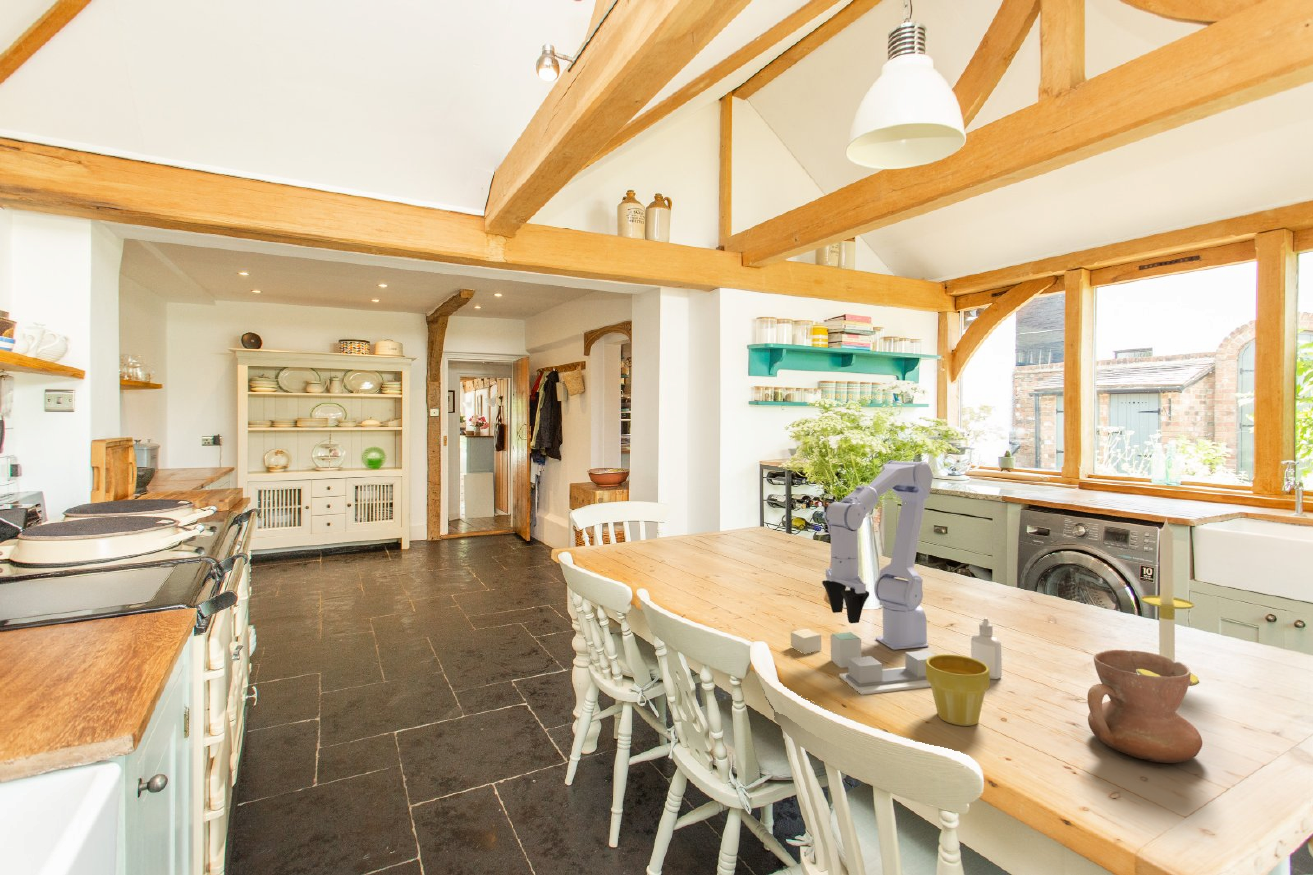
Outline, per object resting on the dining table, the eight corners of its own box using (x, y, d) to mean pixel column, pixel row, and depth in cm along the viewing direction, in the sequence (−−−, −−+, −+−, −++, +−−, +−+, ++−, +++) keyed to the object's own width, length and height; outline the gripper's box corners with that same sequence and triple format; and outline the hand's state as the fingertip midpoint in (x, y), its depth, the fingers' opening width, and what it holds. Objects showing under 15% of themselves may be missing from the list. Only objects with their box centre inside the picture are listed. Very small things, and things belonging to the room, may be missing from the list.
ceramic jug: (1149, 722, 109) (1146, 642, 108) (1236, 767, 94) (1233, 673, 94) (1055, 733, 106) (1052, 651, 106) (1129, 780, 92) (1125, 685, 92)
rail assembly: (924, 667, 135) (924, 646, 135) (951, 684, 126) (951, 661, 126) (839, 676, 131) (838, 654, 131) (861, 694, 122) (860, 671, 122)
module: (851, 658, 141) (851, 631, 141) (861, 666, 136) (861, 638, 136) (831, 660, 140) (830, 633, 140) (840, 668, 136) (840, 640, 135)
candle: (1155, 662, 134) (1154, 513, 134) (1210, 680, 125) (1210, 519, 124) (1125, 670, 131) (1124, 516, 130) (1179, 689, 121) (1178, 523, 121)
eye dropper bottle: (983, 680, 127) (983, 622, 127) (968, 670, 133) (968, 614, 133) (1004, 680, 127) (1004, 622, 127) (988, 669, 133) (988, 613, 133)
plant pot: (935, 699, 119) (934, 649, 119) (995, 714, 113) (995, 661, 113) (919, 720, 111) (918, 666, 111) (982, 737, 105) (982, 680, 105)
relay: (807, 644, 150) (807, 628, 150) (821, 651, 146) (821, 634, 146) (790, 648, 148) (790, 631, 148) (804, 655, 144) (804, 638, 144)
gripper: (813, 551, 144) (814, 609, 144) (843, 564, 130) (844, 629, 130) (841, 549, 145) (842, 606, 146) (874, 562, 131) (875, 626, 131)
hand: (845, 617), depth 138 cm, fingers open, 7 cm apart
